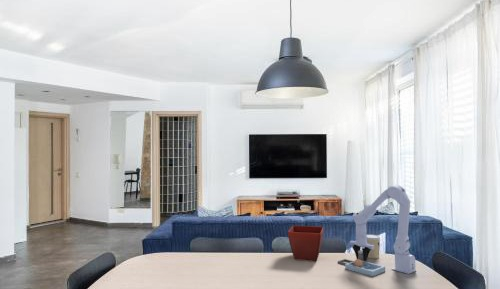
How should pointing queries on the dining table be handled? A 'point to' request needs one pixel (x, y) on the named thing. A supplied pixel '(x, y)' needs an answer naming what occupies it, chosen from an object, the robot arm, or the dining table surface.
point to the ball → (358, 263)
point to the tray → (366, 268)
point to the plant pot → (305, 242)
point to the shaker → (360, 255)
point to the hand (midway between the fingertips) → (361, 259)
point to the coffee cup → (376, 242)
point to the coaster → (343, 261)
